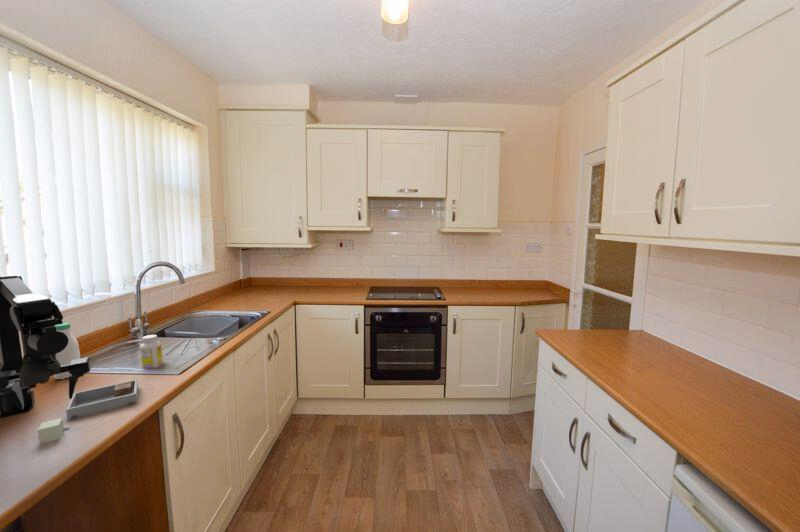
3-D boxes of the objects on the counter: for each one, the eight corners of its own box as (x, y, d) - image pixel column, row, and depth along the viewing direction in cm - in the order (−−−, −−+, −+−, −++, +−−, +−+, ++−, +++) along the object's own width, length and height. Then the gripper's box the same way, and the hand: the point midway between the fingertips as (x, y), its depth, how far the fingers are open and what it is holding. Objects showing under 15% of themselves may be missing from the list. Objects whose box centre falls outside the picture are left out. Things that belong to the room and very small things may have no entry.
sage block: (39, 444, 90) (37, 430, 89) (43, 436, 93) (41, 422, 92) (60, 438, 92) (58, 424, 91) (64, 431, 95) (62, 417, 95)
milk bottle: (86, 369, 135) (80, 320, 132) (76, 378, 128) (69, 326, 125) (61, 373, 132) (54, 322, 129) (49, 381, 125) (41, 328, 122)
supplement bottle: (160, 362, 141) (157, 332, 140) (165, 367, 137) (162, 335, 135) (140, 368, 136) (136, 336, 134) (145, 372, 132) (142, 340, 130)
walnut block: (115, 402, 108) (114, 390, 108) (116, 397, 112) (115, 385, 111) (131, 398, 111) (130, 386, 110) (132, 393, 114) (130, 382, 113)
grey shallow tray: (67, 422, 99) (65, 410, 98) (75, 403, 109) (74, 392, 109) (137, 405, 108) (135, 394, 107) (138, 388, 119) (137, 378, 118)
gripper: (-30, 366, 77) (-19, 431, 79) (82, 348, 88) (89, 405, 90) (-11, 351, 86) (-1, 409, 88) (88, 336, 97) (95, 389, 99)
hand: (47, 403), depth 91 cm, fingers open, 9 cm apart
